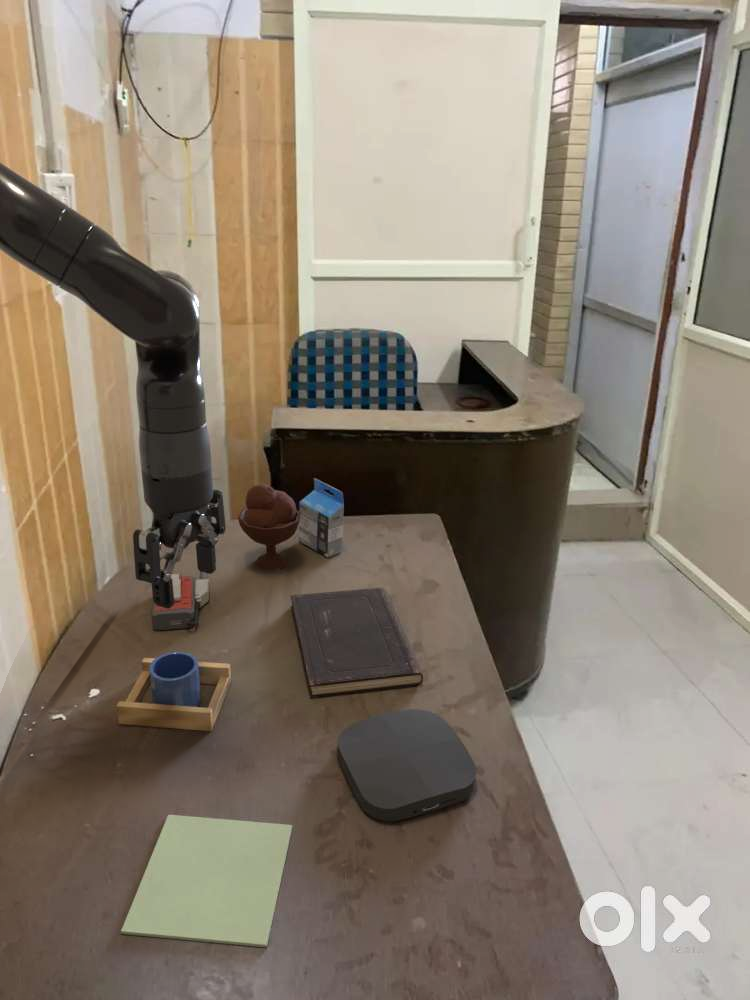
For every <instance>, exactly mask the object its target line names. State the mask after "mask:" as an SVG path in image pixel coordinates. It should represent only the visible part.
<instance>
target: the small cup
mask: <svg viewBox="0 0 750 1000" xmlns="http://www.w3.org/2000/svg"><path fill="white" fill-rule="evenodd" d="M198 662H199V661H198V658H197V657H196V656H195V655H193V654H192V653H189V652H186V651H178V650H176V651H170V652H165V653H163V654H161V655H158V656H157V657H155V660H153V661H152V663H151V665H150V666H149V672H150V681H151V682H150V688H151V689H150V690H151V695H152V696H151V698H152V704H164V705H177V706H190V707H200V704H201V701H202V693H201V683H200V680H199V667H198Z"/></svg>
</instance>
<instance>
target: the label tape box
mask: <svg viewBox="0 0 750 1000" xmlns="http://www.w3.org/2000/svg"><path fill="white" fill-rule="evenodd" d="M313 486H314V487H313V488H314V489H313V490H312V491H310V493H309V494H307V495H306V496H305V497H304V498H302V499H301V500H300V501H299V509H298V510H299V511H300V512H301V518H300V522H299V524H298V542H300V543H301V544H303V545H305V546H307V547H308V548H310V549H313V550H314V551H315V552H317V553H319V554H320V555H322V556H324V557H326V558H331V557H334V556H336V555H339V554H341V553H343V533H344V532H343V530H344V512H345V511H344V509H345V502H344V494H343V493H344V492H342V491H341V490H339V489H337V488H335V487H334V486H331V485H329V484H328V483H325V482H323V481H321V480H320V479H318V478H315V477H314V478H313ZM325 490H326V491H325ZM327 491H329V492H330V493H332V494H333V495H332V494H330V493H328V492H327Z"/></svg>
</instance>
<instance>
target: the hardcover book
mask: <svg viewBox="0 0 750 1000" xmlns="http://www.w3.org/2000/svg"><path fill="white" fill-rule="evenodd" d="M290 601H291V605H290V609H291V615H292V620H293V624H294V629H295V635H296V639H297V643H298V648H299V654H300V658H301V663H302V667H303V671H304V677H305V681H306V686H307V691H308V695H309V699H316V698H324V697H332V696H340V695H349V694H359V693H366V692H367V693H368V692H377V691H386V690H393V689H402V688H411V687H419V686H420V685H422V684H423V680H424V674H423V672H422V670H421V667H420V666H419V663H418V661H417V658H416V656H415V653H414V651H413V649H412V646H411V644H410V642H409V640H408V637H407V635H406V633H405V630H404V628H403V626H402V623H401V621H400V619H399V616H398V614H397V612H396V610H395V608H394V605H393V603H392V601H391V598H390V596H389V593H388V591H387V588H385V587H371V588H362V589H351V590H350V589H349V590H339V591H338V590H337V591H326V592H325V591H324V592H314V593H304V594H303V593H302V594H292V595H290Z"/></svg>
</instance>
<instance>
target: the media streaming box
mask: <svg viewBox="0 0 750 1000" xmlns="http://www.w3.org/2000/svg"><path fill="white" fill-rule="evenodd" d="M336 741H337V742H336V757H337V760H338V763H339V766H340V768H341V771H342V773H343V775H344V778H345V780H346V782H347V784H348V786H349V788H350V790H351V791H352V794H353V795H354V797H355V799H356V801H357V803H358V804H359V806H360V808H361V809H362V811H364V813H366V814H367V815H368V816H370V817H372V818H373V819H376V820H379V821H383V822H397V821H398V822H399V821H402V820H405V819H410V818H414V817H417V816H420V815H424V814H428V813H432V812H434V811H437V810H441V809H444V808H447V807H450V806H453V805H456V804H458V803H462V802H464V801H465V800H467V799H468V798H469V797H470V796H471V795H472V793H473V792H474V789H475V785H476V778H477V775H476V774H477V768H476V764H475V762H474V760H473V758H472V755H471V754H470V753H469V751H468V749H467V747H466V746H465V744H464V743H463V741H462V740H461V738H460V736H459V735H458V734H457V733H456V731H455V730H454V729H453V728H452V726H451V725H450V724H449V723H448V721H446V720H445V719H444V717H442V716H440V715H438V714H437V713H434V712H432V711H428V710H426V709H425V710H424V709H418V708H409V709H401V710H394V711H393V710H392V711H389V712H384V713H380V714H376V715H372V716H369V717H366V718H364V719H361V720H358V721H356V722H354V723H351V724H349V725H348V726H346V727H345V728H343V730H342V731H341V732H340V734H339V735H338V737H337V740H336Z"/></svg>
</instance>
